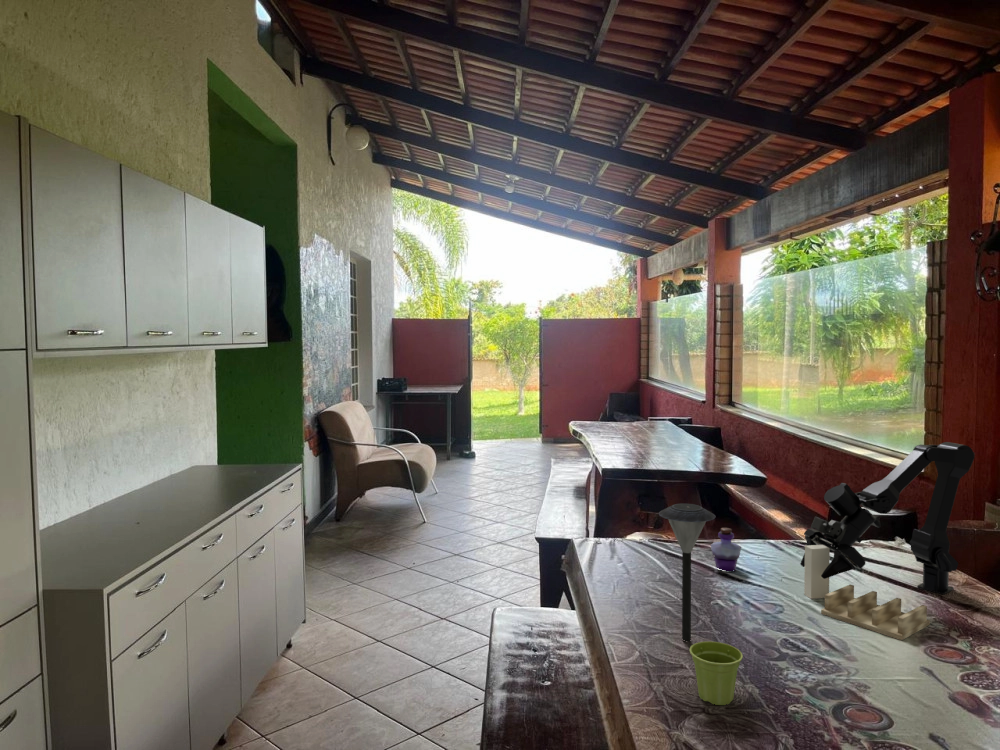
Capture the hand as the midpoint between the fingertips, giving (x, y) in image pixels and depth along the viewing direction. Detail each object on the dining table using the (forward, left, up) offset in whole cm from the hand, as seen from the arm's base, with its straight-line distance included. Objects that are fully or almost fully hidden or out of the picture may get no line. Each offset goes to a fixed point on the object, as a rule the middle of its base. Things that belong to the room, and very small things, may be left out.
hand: (811, 571), depth 174 cm
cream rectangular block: (-1, +1, -7) cm, 7 cm away
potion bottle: (0, -26, -7) cm, 27 cm away
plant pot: (+62, +17, -7) cm, 64 cm away
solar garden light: (+47, -2, -7) cm, 47 cm away
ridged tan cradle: (+2, +17, -7) cm, 18 cm away
